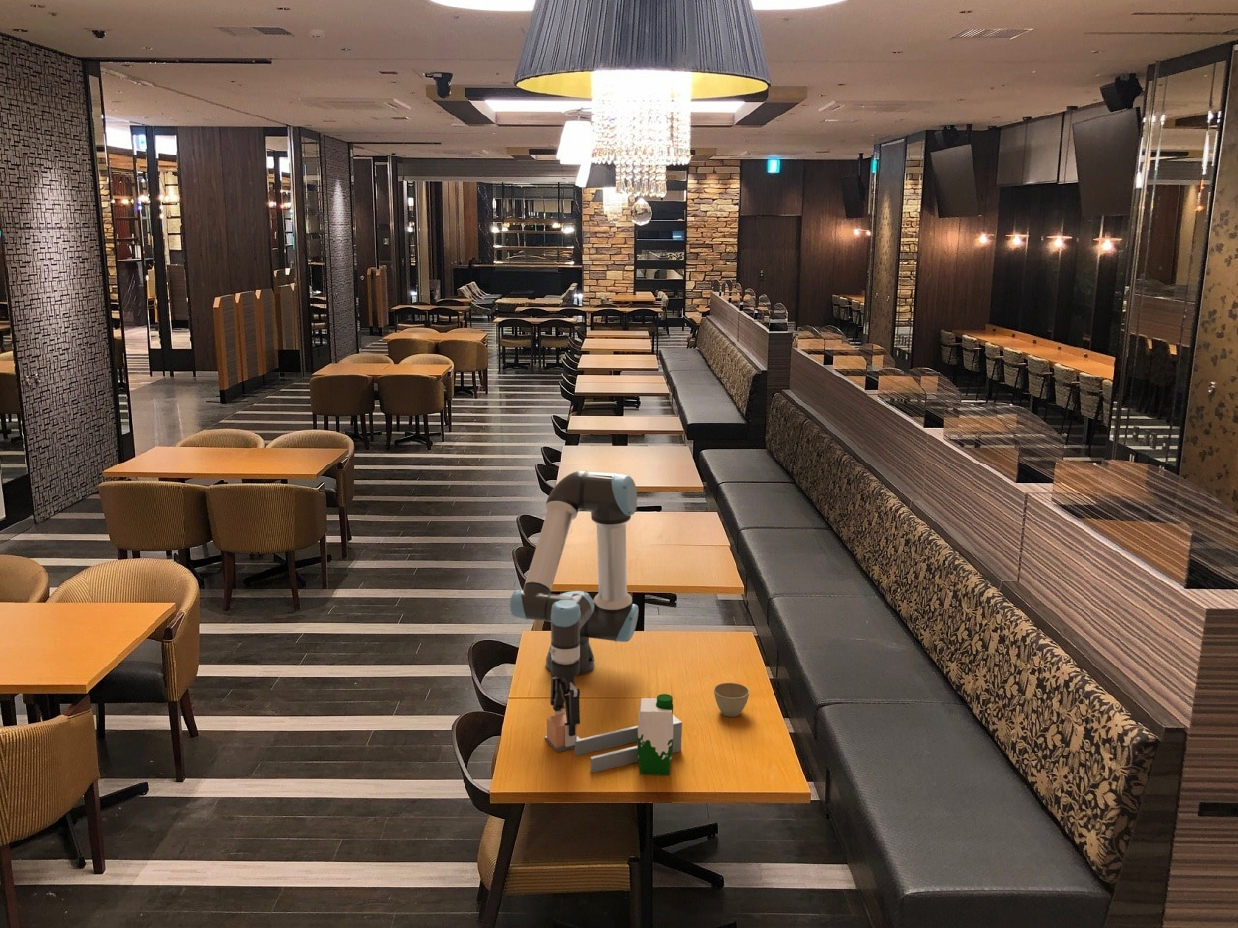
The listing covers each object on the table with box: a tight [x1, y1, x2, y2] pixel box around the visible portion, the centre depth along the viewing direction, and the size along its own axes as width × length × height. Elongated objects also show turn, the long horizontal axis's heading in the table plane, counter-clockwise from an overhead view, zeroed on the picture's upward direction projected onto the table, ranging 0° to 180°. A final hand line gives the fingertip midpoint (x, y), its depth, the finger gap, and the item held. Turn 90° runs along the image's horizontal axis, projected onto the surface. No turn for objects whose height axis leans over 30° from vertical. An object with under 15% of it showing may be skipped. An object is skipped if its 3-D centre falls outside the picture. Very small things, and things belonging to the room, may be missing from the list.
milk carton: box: [636, 693, 674, 776], centre depth 266 cm, size 9×9×20 cm
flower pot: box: [713, 682, 750, 718], centre depth 296 cm, size 10×10×7 cm
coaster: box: [544, 735, 581, 753], centre depth 280 cm, size 8×8×1 cm
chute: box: [574, 714, 683, 774], centre depth 274 cm, size 10×26×8 cm, turn 117°
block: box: [546, 712, 578, 748], centre depth 278 cm, size 6×6×6 cm
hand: (564, 738), depth 279 cm, fingers open, 7 cm apart
